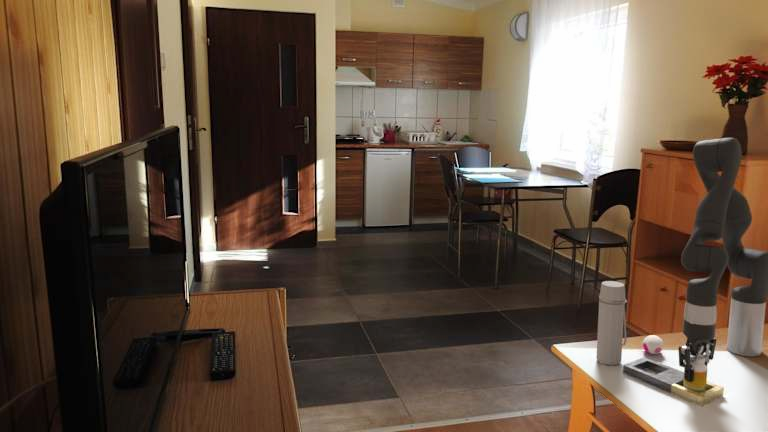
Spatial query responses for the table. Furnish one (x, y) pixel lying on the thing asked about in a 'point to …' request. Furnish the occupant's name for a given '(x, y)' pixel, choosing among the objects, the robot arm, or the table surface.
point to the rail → (671, 381)
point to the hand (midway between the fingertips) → (695, 378)
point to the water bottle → (611, 322)
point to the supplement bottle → (698, 376)
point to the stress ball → (653, 344)
